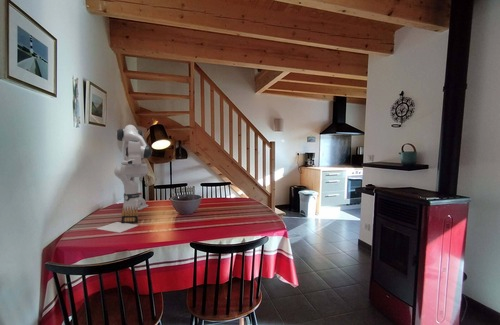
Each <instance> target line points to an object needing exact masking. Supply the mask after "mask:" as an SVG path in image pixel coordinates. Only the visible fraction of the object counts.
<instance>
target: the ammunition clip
mask: <svg viewBox="0 0 500 325" xmlns="http://www.w3.org/2000/svg"><path fill="white" fill-rule="evenodd" d="M122 209H123V210H122ZM122 209H121V210H122V212H121V221H120V222H121V223H128V224H138V223H139V210H138V207H136V210H135V206H134V208H133V210H132V206H131V210H130V207H128V211H127V206H126V208H125V210H124V206H123V205H122Z"/></svg>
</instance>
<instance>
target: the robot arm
mask: <svg viewBox="0 0 500 325" xmlns="http://www.w3.org/2000/svg"><path fill="white" fill-rule="evenodd" d="M115 137H116V139H117V141H119V142H120V141H121V142H124V143H123V148H122V151H123V152H122V154H123V161H121V162H120V163H121V164H120V165H117V166H116V167H115V168H114V171H113V172H114V175H115V177H116V178H118V179H119V180H120V181H121V182H122V184H123V190H124V191H123V203H122V204H123V205H122V207H123V206H124V211H125V208H126V206H127V212H128V207H130V210H131V206H132V211H133V208H134V206H135V211H136V207H138V211H141V210H143V209H145V208H147V207H149V204H147V203H146V200H145V199H144V198H143V197H141V196H142V194H143V192H139V183H138V182H136V181H134V180H132V179H131V178H139V181H143V178H144V177H146V175H147V174H149V169H148V163H147V162H145V161H142V159H149V158H151V157H152V154H153V150H152V148H151V146H150V145H149V143H148V142H147V140H146V138H145V137H144V132H143V130H142V129H138V128H136V126H135V125H133V124H126V126H125V127H124V128H119V129H117V130H116V132H115ZM121 210H123V208H122V209H121Z"/></svg>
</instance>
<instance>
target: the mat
mask: <svg viewBox="0 0 500 325" xmlns="http://www.w3.org/2000/svg"><path fill="white" fill-rule="evenodd" d="M138 226H140V225H139V224H136V223H121V221H115V222H112V223H109V224H106V225H103V226H100V227H97V228H96V230H99V231H105V232H112V233H118V234H120V233H122V232H125V231H128V230H131V229H133V228H136V227H138Z"/></svg>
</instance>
